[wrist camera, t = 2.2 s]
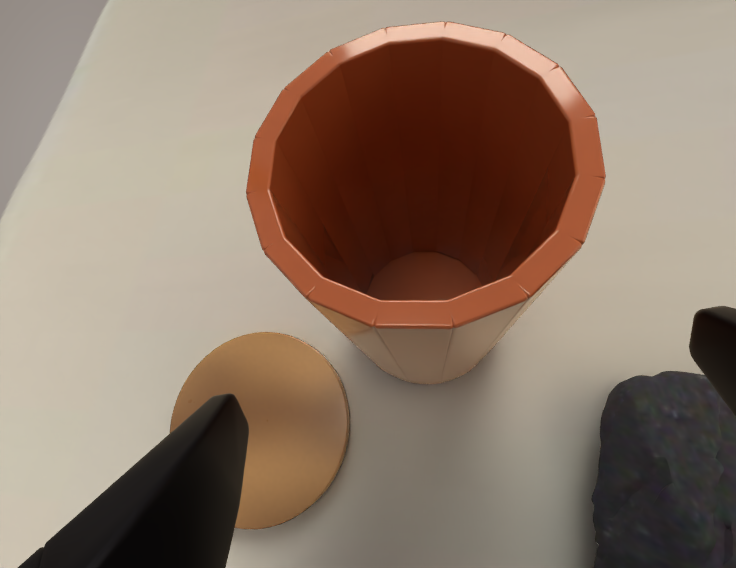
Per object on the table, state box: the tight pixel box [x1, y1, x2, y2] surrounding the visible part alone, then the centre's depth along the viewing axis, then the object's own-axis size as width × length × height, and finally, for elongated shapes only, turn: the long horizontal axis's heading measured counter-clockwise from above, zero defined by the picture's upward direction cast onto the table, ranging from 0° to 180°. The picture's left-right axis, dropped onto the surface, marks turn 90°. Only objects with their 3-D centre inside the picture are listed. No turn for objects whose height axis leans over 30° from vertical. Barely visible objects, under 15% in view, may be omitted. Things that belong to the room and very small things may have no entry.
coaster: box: [170, 332, 350, 529], centre depth 19 cm, size 8×8×1 cm
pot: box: [246, 21, 606, 384], centre depth 14 cm, size 7×7×12 cm
